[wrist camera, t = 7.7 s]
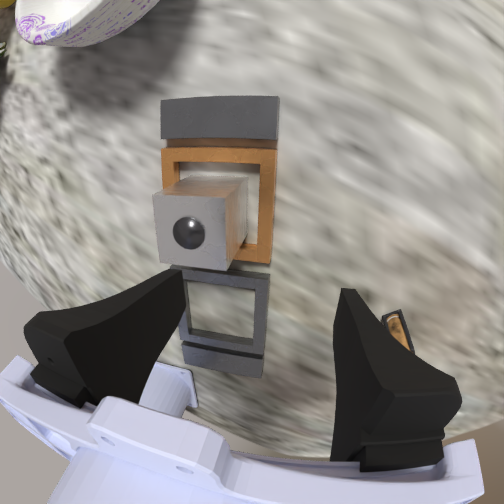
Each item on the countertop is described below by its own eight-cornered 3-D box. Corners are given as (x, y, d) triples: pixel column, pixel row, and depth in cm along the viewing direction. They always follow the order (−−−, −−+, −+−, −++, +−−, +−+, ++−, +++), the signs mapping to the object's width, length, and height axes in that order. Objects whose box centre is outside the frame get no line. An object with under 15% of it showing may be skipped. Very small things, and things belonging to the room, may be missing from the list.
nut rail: (188, 357, 30) (184, 363, 29) (166, 100, 19) (160, 100, 18) (262, 371, 29) (260, 378, 28) (279, 97, 18) (277, 96, 17)
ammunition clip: (413, 377, 26) (430, 469, 15) (398, 382, 27) (411, 475, 16) (400, 308, 23) (433, 421, 12) (381, 315, 23) (405, 431, 13)
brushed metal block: (193, 229, 23) (158, 263, 18) (190, 175, 21) (151, 195, 16) (247, 233, 23) (225, 272, 17) (248, 177, 21) (224, 198, 15)
